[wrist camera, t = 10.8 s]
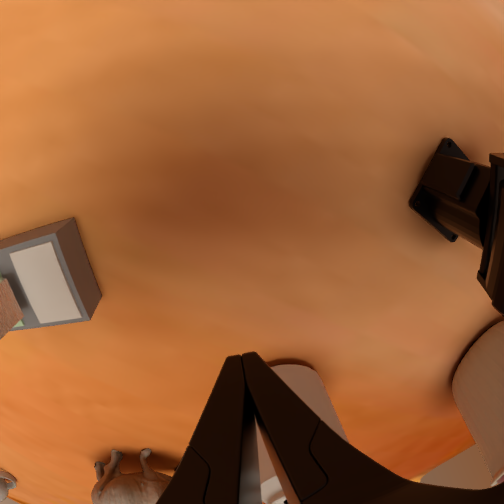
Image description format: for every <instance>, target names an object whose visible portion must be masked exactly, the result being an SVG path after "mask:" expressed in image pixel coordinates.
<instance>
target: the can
mask: <svg viewBox="0 0 504 504" xmlns="http://www.w3.org/2000/svg"><path fill="white" fill-rule="evenodd" d="M271 369H272V370H273V371H274V372H275V373H276V374H277V375H278V376H279V377H280V378H281V379H282V380H283V381H284V382H285V383H286V384H287V385H288V386H289V387H290V388H291V389H292V390H293V391H294V392H295V393H296V394H297V395H298V396H299V397H300V398H301V399H302V400H303V401H304V402H305V403H306V404H307V405H308V406H309V407H310V408H311V409H312V410H313V411H314V412H315V413H316V414H317V415H318V416H319V417H320V418H321V420H323V421H324V422H325V423H326V424H327V425H328V426H329V427H330V428H331V429H333V430H334V431H335V432H336V433H337V434H338V435H339V436H341V437H342V438H343V439H344V440H345V441H347V442H348V440H347V437H346V435H345V433H344V430H343V428H342V426H341V423H340V421H339V419H338V416H337V414H336V412H335V410H334V407H333V405H332V403H331V400H330V398H329V396H328V394H327V391H326V389H325V387H324V384H323V382H322V380H321V378H320V377H319V375H318V374H317V372H316V371H314V370H312V369H311V368H309V367H306V366H301V365H296V364H294V365H291V364H285V365H277V366H273V367H271ZM255 421H256V419H255ZM256 429H257V443H258V457H259V470H260V484H261V497H262V501H263V502H264V503H266V504H288V502H287V499H286V497H285V494H284V492H283V490H282V487H281V485H280V482H279V480H278V477H277V475H276V472H275V470H274V467H273V465H272V462H271V460H270V457H269V455H268V452H267V450H266V447H265V444H264V442H263V439H262V437H261V434H260V431H259V428H258V425H257V422H256ZM348 443H349V442H348Z"/></svg>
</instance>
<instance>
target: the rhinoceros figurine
mask: <svg viewBox="0 0 504 504" xmlns="http://www.w3.org/2000/svg"><path fill="white" fill-rule="evenodd" d="M150 453H151V450H150V449H145V450H143V451H141V454H140V461H141V465H142V469H143V472H138V473H129V474H123V473H121V472H120V469H119V462H120V461H121V459H122V456H123V455H122V452H119V451H115V450H112V451H111V461H110V463H109V464H107V465H106V464H105V463H103V462H96V463H95V466H94V468H95V470H96V475H97V480H98V482H97V483H96V484H95V486H94V488H93V490H92V493H91V498H92V501H93V504H155V503H156V502H157V500H158V499H159V497H160V496H161V494H162V493H163V491H164V490H165V488H166V486H167V485H168V483H169V482H170V480H171V478H172V477H171V476H168V475H165V474H162V473H159V472H155V471H154V470H152V469H151V468H150V467H149V466H148V464H147V457H148V456H149V455H150ZM177 467H178V466H177ZM175 471H176V470H175Z"/></svg>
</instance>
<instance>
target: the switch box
mask: <svg viewBox="0 0 504 504" xmlns="http://www.w3.org/2000/svg"><path fill="white" fill-rule="evenodd" d="M0 278H7V280H8V283H9V285H10V287H11V290H12V292H13V294H14V296H15V298H16V300H17V302H18V304H19V307H20V309H21V311H22V313H23V315H24V317H23V318H22V319H21V320H20V321H19V322H18V323H17V324H16V325H15V326H14V327H13V328H12V329H11V330H9V331H15V330H23V329H31V328H39V327H46V326H54V325H61V324H68V323H75V322H82V321H89V320H91V318H92V316H93V314H94V311H95V309H96V307H97V305H98V303H99V301H100V299H101V297H102V295H101V293H100V290H99V288H98V285H97V283H96V280H95V277H94V275H93V272H92V269H91V267H90V264H89V261H88V258H87V256H86V253H85V250H84V247H83V244H82V241H81V238H80V235H79V232H78V228H77V225H76V222H75V219H74V217H73V218H70V219H66V220H63V221H60V222H56V223H53V224H50V225H46V226H43V227H40V228H37V229H34V230H30V231H27V232H24V233H21V234H18V235H15V236H12V237H9V238H6V239H3V240H0Z"/></svg>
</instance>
